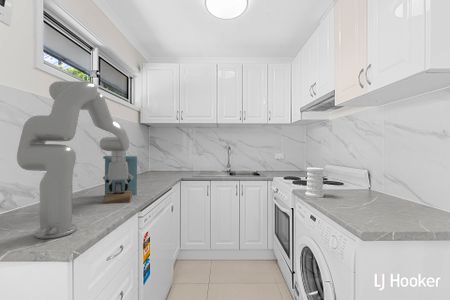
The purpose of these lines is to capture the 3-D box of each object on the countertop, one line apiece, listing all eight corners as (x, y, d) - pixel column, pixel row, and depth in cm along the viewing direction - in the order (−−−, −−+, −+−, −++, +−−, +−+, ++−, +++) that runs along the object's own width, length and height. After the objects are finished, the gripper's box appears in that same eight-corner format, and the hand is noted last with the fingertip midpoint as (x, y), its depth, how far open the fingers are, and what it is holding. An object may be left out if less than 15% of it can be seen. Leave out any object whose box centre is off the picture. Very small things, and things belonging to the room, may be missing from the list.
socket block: (129, 202, 128) (129, 195, 128) (103, 203, 125) (103, 196, 124) (131, 197, 141) (131, 190, 141) (107, 198, 137) (107, 191, 137)
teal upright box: (136, 196, 142) (136, 156, 141) (103, 198, 136) (103, 156, 136) (136, 194, 149) (137, 155, 148) (105, 195, 143) (105, 155, 143)
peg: (121, 200, 131) (121, 183, 131) (113, 201, 130) (114, 183, 130) (122, 199, 135) (122, 181, 135) (115, 199, 134) (115, 182, 134)
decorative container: (315, 198, 148) (316, 169, 148) (301, 194, 158) (302, 167, 158) (327, 196, 154) (328, 168, 153) (313, 192, 164) (314, 167, 163)
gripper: (100, 160, 126) (100, 193, 126) (134, 160, 131) (134, 191, 132) (102, 159, 133) (102, 190, 134) (135, 159, 138) (135, 189, 139)
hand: (118, 190), depth 133 cm, fingers open, 7 cm apart
